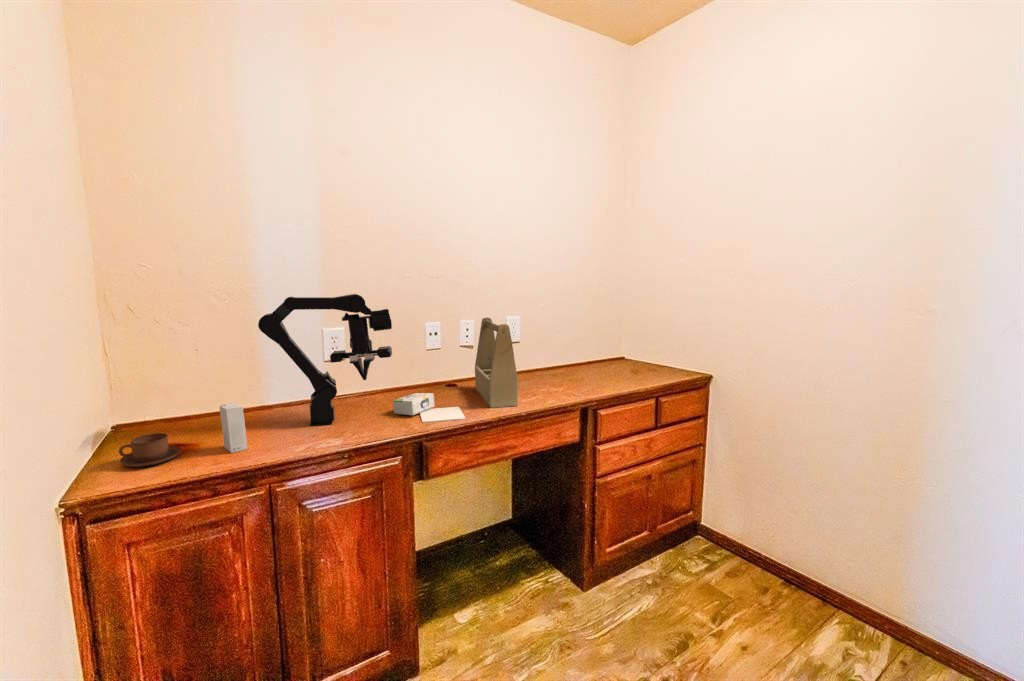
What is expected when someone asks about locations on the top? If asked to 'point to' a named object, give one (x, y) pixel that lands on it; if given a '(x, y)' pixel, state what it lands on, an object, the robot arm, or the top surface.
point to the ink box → (413, 403)
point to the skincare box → (233, 427)
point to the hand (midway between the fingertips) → (364, 379)
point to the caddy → (496, 366)
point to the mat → (442, 414)
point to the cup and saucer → (148, 451)
